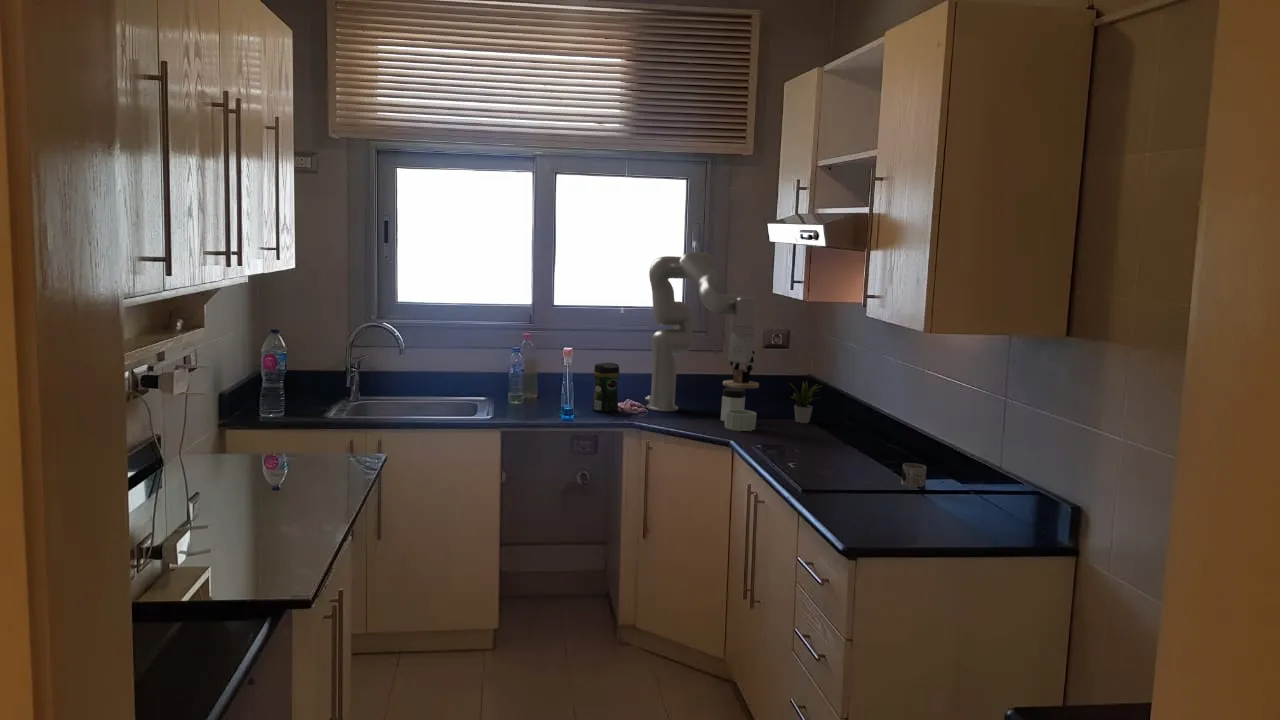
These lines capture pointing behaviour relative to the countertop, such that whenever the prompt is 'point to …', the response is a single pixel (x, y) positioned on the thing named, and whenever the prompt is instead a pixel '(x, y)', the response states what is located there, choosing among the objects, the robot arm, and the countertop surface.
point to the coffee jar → (606, 387)
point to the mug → (913, 475)
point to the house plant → (803, 403)
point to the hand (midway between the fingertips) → (740, 380)
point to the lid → (740, 381)
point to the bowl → (740, 420)
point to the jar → (732, 400)
